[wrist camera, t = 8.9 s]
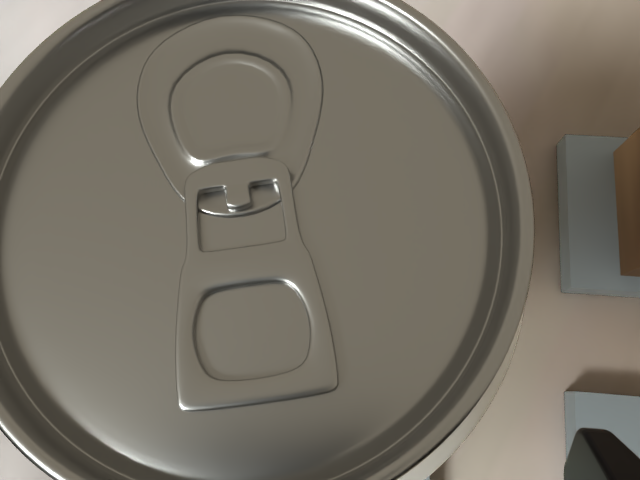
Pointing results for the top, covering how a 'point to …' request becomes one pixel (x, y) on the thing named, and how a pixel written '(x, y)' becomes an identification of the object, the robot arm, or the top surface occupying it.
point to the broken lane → (593, 268)
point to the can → (255, 243)
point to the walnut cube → (628, 203)
